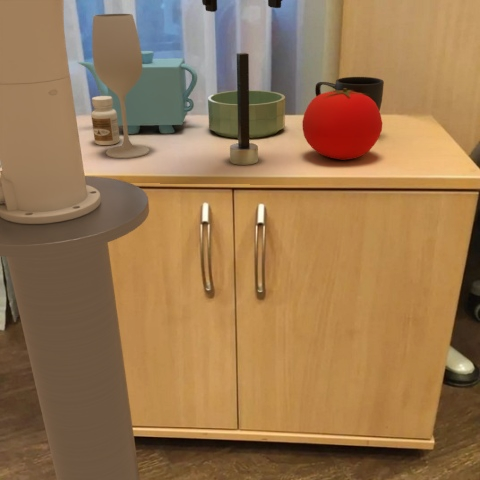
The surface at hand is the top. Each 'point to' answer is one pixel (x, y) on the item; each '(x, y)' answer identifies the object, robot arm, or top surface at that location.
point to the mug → (358, 87)
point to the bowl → (260, 113)
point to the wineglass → (118, 66)
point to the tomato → (342, 124)
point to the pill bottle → (104, 121)
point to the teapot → (154, 94)
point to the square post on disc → (243, 117)
